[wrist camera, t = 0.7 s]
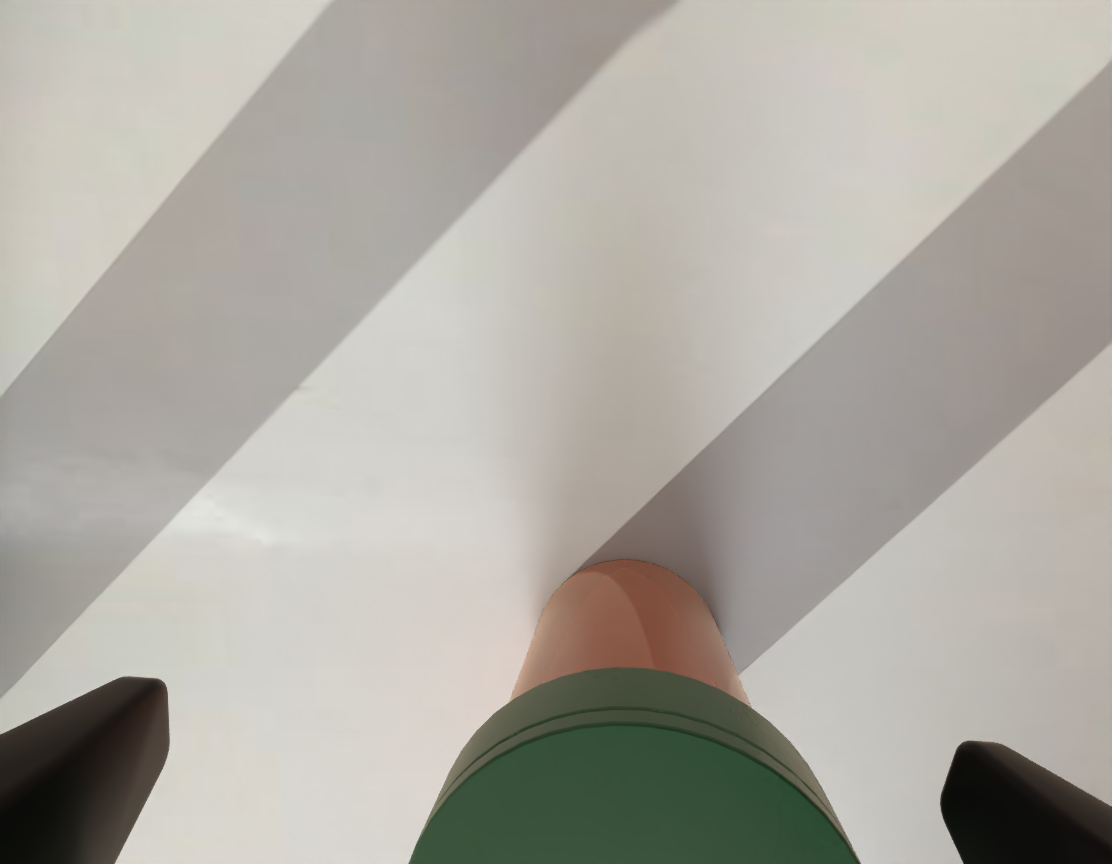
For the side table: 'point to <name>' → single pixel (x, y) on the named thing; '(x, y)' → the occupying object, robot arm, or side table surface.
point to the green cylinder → (630, 781)
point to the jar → (628, 628)
